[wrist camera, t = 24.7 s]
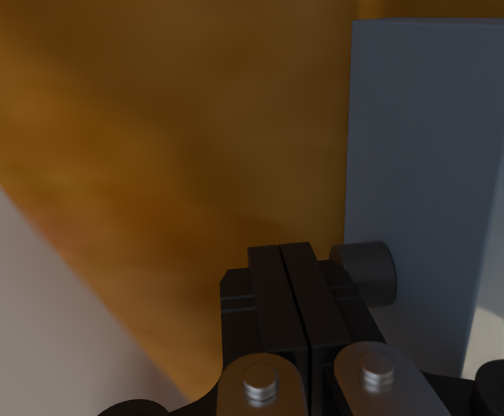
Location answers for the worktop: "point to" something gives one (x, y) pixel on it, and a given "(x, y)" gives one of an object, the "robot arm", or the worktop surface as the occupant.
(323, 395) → the robot arm
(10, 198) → the worktop surface
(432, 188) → the drawer
